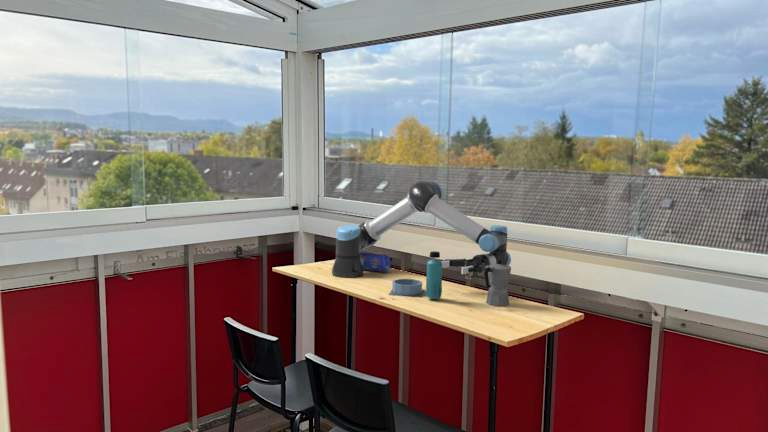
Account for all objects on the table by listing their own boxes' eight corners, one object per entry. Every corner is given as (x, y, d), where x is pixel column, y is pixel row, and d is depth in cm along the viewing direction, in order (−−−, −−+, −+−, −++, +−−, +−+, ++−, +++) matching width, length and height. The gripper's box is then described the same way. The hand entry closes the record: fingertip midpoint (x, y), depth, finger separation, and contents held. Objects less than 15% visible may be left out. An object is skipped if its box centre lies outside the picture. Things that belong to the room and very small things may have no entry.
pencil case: (392, 271, 287) (393, 252, 286) (385, 274, 279) (386, 255, 278) (353, 267, 296) (354, 248, 295) (345, 269, 288) (346, 251, 287)
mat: (388, 295, 238) (388, 294, 238) (393, 287, 252) (393, 287, 252) (421, 298, 236) (421, 297, 236) (425, 290, 250) (425, 289, 250)
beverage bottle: (440, 302, 229) (442, 253, 227) (424, 301, 231) (425, 252, 228) (442, 298, 236) (444, 250, 233) (426, 297, 237) (428, 249, 235)
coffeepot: (498, 298, 238) (501, 256, 236) (517, 303, 231) (519, 260, 229) (473, 304, 228) (475, 259, 226) (492, 309, 221) (494, 263, 219)
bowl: (390, 294, 239) (390, 284, 238) (395, 287, 251) (395, 278, 251) (419, 296, 237) (420, 286, 236) (423, 289, 249) (423, 279, 248)
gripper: (505, 276, 242) (472, 282, 228) (461, 266, 261) (428, 271, 247) (506, 258, 241) (473, 264, 227) (462, 250, 260) (429, 254, 246)
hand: (449, 268), depth 237 cm, fingers open, 13 cm apart
